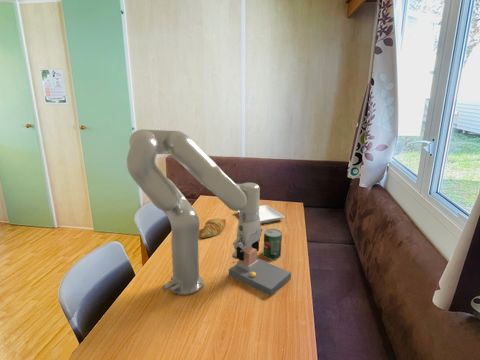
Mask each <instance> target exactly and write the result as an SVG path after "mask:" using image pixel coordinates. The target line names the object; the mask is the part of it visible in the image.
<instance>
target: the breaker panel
mask: <svg viewBox="0 0 480 360" xmlns="http://www.w3.org/2000/svg"><path fill="white" fill-rule="evenodd" d="M228 276H229V277H231V278H232V279H234V280H237V281H238V282H240V283H242V284H245V285H247V286H249V287H250V288H251V289H252V288H253V289H255V290H257V291H259V292H261V293H263V294H265V295H267V296H269V297H272V296H273V295H274V294H275V293H276V292H278V291H279V290H281V289H282V288H283V287H284V286H285V285H286V284H287V283H288V282H290V281H291V278H292V272H290V271H288V270H287V269H283V268H282V267H279V266H276V265H275V264H272V263H270V262H267V261H264V260H262V259H260V258H257V257H256V261H255V262H254V263H252V264H251V265H249V266H248V265H246V264H244V263H242V262H239V259H237V261H236V264H234V265H233V266H231V267H229V268H228Z"/></svg>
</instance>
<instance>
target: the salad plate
mask: <svg viewBox="0 0 480 360" xmlns="http://www.w3.org/2000/svg"><path fill="white" fill-rule="evenodd" d="M236 212H237V213H238V214H239V211H236ZM259 217H260V224H261V225H263V224H265V223H267V224H268V223H273V222H275V221H280V220H283V219H284V218H285V215H283V214H281V213H280V212H279V211H277V210H275V209H274V208H272V207H271V206H269V205H267V204H265V205H259Z"/></svg>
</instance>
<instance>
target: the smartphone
mask: <svg viewBox="0 0 480 360" xmlns="http://www.w3.org/2000/svg"><path fill="white" fill-rule="evenodd" d="M241 243H243V242H241ZM241 247H242V245H241V244H240V248H241ZM249 247H252V244H251V245H250V246H249ZM232 257H233V258H235V259H237V250H236V249H235V251H234V252H233V254H232Z"/></svg>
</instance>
